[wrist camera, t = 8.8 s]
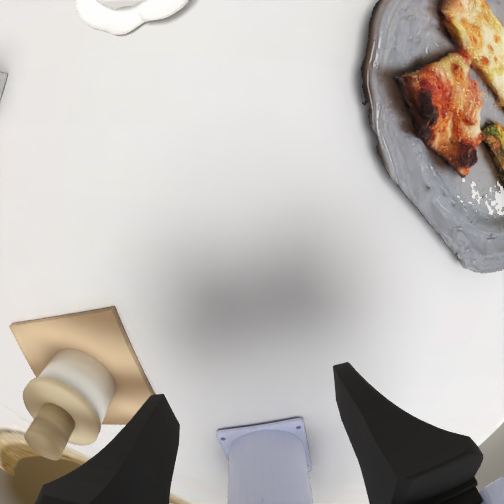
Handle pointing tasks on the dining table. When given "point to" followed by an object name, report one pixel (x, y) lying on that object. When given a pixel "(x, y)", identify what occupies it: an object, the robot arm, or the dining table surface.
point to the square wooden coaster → (95, 344)
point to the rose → (124, 13)
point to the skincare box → (2, 81)
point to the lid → (58, 417)
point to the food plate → (442, 115)
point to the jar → (83, 378)
